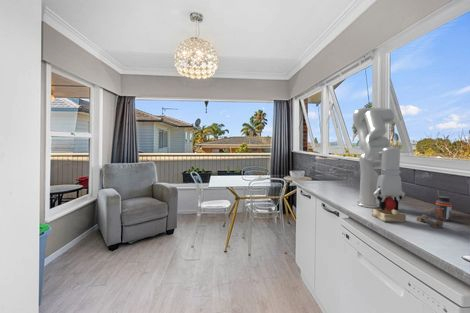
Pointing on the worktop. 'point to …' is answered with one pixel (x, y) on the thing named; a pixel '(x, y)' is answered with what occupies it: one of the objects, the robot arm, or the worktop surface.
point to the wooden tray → (388, 215)
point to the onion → (389, 203)
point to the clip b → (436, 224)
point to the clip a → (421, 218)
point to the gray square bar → (430, 221)
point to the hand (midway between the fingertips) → (388, 208)
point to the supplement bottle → (443, 209)
